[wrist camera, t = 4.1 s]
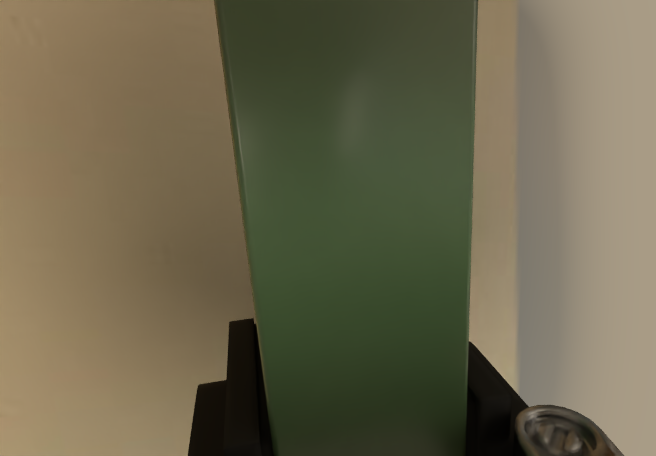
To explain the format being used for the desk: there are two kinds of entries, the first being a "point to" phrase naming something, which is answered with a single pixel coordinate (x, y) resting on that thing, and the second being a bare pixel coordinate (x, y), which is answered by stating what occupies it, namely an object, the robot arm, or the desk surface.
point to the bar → (357, 216)
